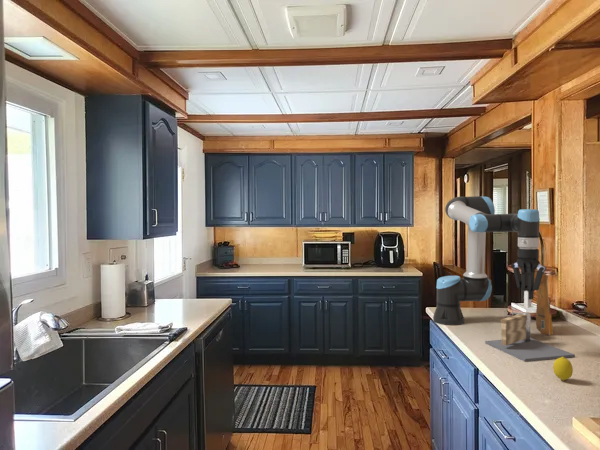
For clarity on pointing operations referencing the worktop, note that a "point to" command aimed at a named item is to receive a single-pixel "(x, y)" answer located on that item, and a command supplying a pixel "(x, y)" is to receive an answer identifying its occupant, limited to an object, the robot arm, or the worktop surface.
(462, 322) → the robot arm
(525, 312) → the posts
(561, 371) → the lemon
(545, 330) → the pancake mix bag
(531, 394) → the worktop surface
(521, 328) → the light wood flat slab
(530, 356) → the mat
